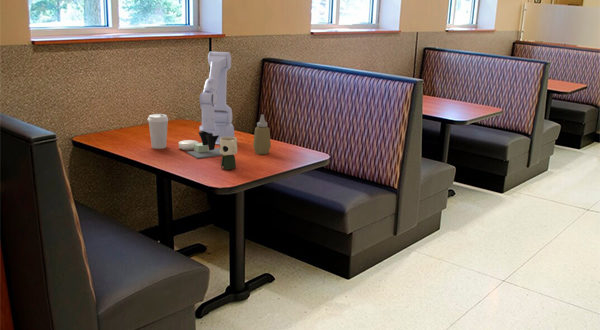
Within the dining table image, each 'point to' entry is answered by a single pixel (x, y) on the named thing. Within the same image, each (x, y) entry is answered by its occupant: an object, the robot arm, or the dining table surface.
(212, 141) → the robot arm
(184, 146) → the white shallow dome
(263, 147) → the squeeze bottle
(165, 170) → the dining table surface
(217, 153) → the mat
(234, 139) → the character mug
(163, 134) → the coffee cup
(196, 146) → the pale green square block
